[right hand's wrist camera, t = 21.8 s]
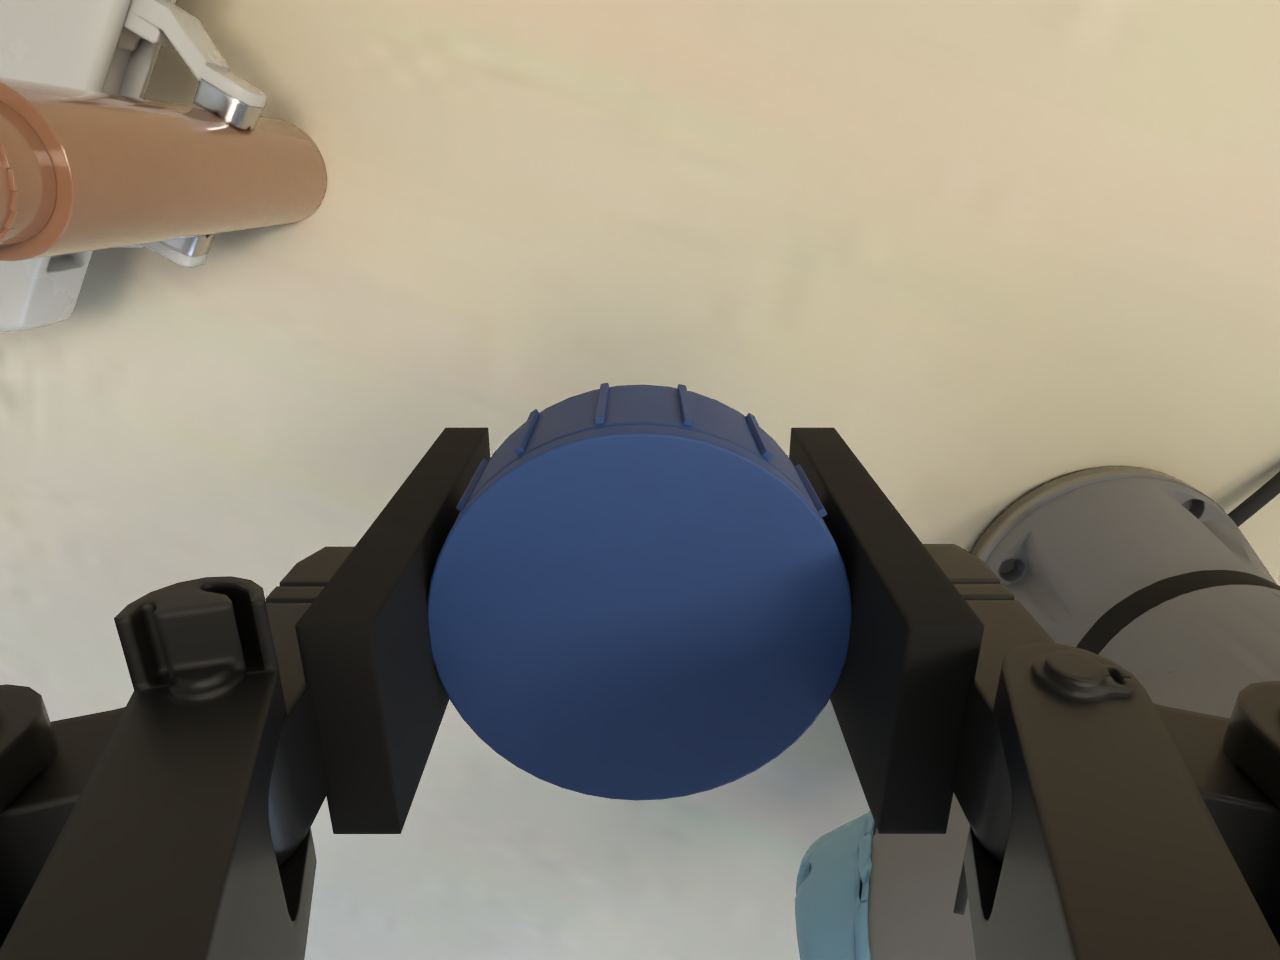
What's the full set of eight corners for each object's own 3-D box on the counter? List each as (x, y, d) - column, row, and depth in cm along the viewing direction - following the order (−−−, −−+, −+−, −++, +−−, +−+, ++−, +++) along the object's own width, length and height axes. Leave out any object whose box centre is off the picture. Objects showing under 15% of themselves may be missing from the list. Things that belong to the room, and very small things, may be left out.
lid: (397, 460, 12) (343, 524, 9) (752, 322, 11) (780, 359, 9) (548, 741, 13) (531, 847, 11) (859, 640, 13) (904, 734, 11)
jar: (314, 238, 38) (8, 297, 20) (220, 201, 38) (-190, 227, 19) (337, 142, 37) (26, 108, 18) (238, 102, 36) (-188, 25, 18)
